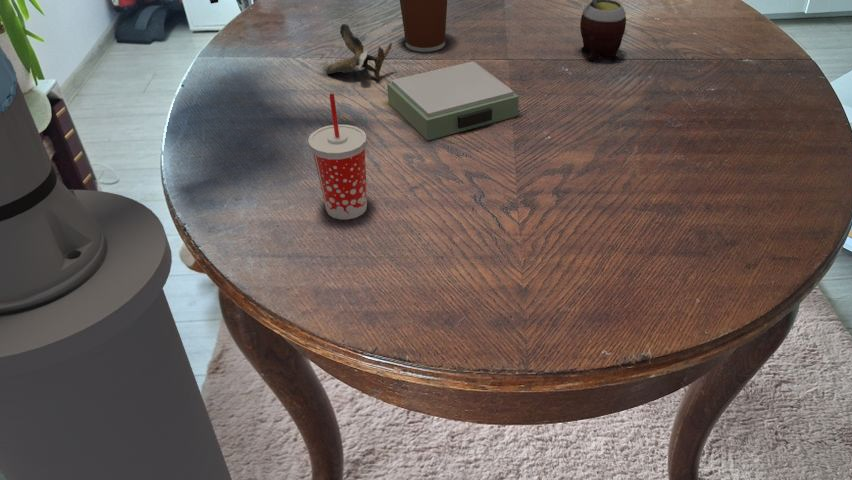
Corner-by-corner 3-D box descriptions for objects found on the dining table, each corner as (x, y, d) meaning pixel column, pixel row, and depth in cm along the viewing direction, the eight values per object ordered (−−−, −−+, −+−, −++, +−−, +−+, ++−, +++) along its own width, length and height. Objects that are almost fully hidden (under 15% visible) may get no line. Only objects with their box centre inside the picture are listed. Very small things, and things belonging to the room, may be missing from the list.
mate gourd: (628, 53, 119) (642, -45, 109) (606, 70, 114) (619, -31, 104) (587, 41, 122) (597, -54, 112) (564, 57, 117) (573, -41, 107)
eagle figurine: (397, 58, 112) (345, 37, 114) (388, 30, 105) (333, 9, 107) (374, 99, 111) (322, 78, 112) (364, 74, 104) (308, 52, 105)
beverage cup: (383, 212, 84) (372, 98, 75) (334, 229, 81) (316, 114, 72) (358, 187, 87) (345, 76, 78) (310, 203, 85) (291, 90, 75)
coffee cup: (402, 31, 123) (397, -44, 116) (456, 34, 123) (455, -41, 115) (392, 53, 116) (386, -25, 109) (449, 56, 116) (447, -22, 108)
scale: (429, 142, 96) (428, 117, 93) (388, 103, 104) (386, 79, 101) (520, 117, 101) (521, 93, 99) (474, 82, 109) (474, 59, 107)
